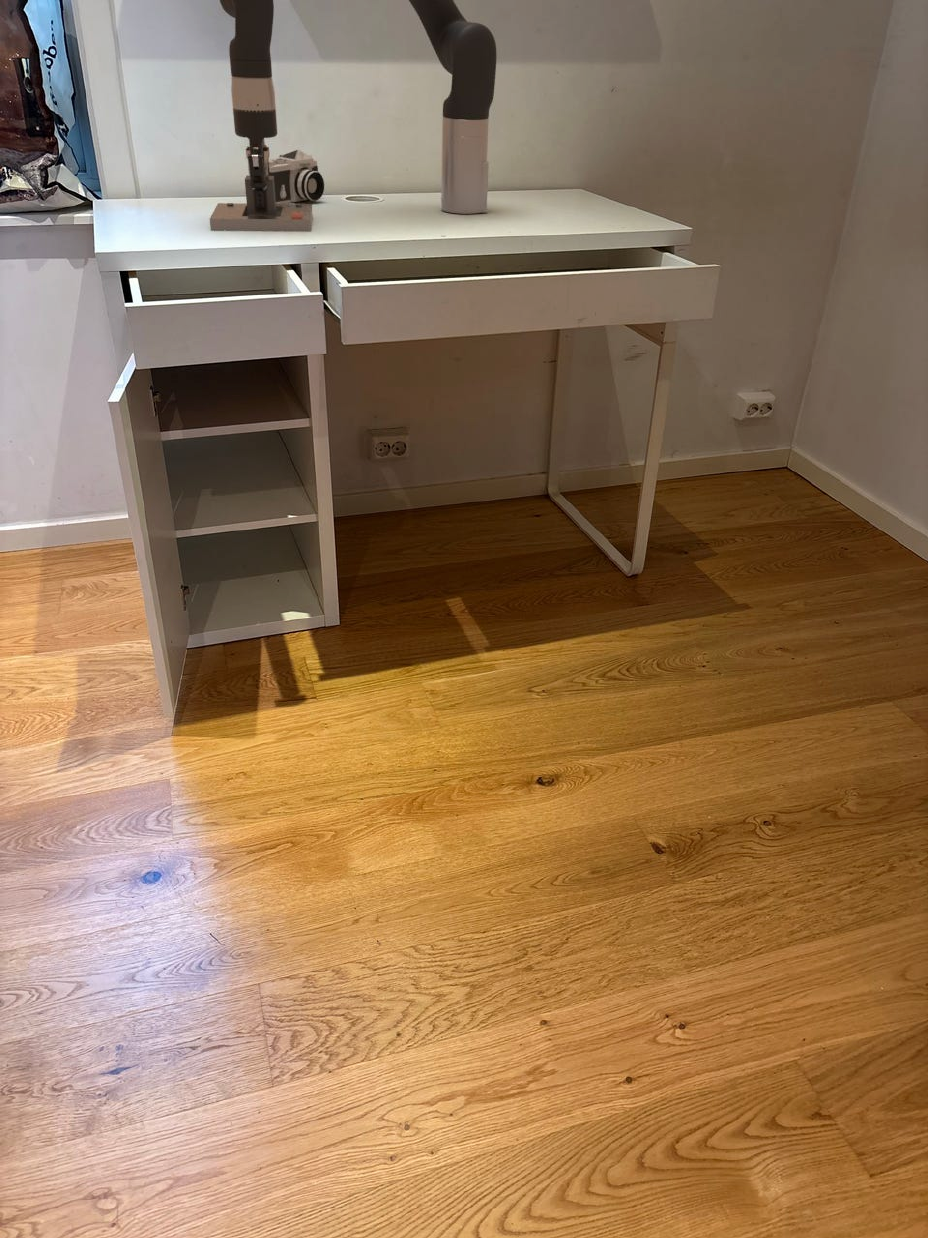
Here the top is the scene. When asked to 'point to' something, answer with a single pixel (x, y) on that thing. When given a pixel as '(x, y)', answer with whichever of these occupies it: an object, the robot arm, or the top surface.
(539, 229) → the top surface
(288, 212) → the socket plate
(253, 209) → the plug
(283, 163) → the camera
